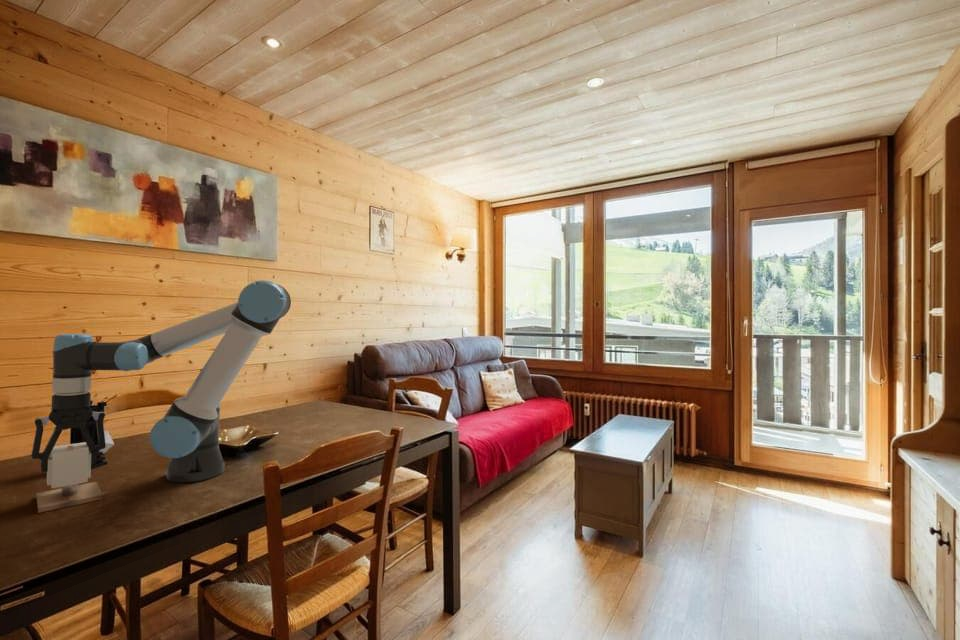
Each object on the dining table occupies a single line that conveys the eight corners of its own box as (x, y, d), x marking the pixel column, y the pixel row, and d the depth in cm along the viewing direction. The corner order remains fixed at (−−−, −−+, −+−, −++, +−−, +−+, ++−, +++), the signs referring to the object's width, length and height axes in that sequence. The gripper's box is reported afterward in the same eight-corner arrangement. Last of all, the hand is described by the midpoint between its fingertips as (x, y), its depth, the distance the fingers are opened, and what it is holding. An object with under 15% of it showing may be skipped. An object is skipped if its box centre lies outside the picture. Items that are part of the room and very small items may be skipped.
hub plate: (96, 485, 125) (96, 480, 125) (102, 499, 117) (102, 493, 117) (36, 497, 116) (36, 492, 116) (38, 512, 108) (38, 507, 108)
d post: (76, 490, 119) (77, 472, 118) (77, 494, 116) (78, 475, 116) (61, 493, 116) (61, 474, 116) (62, 497, 114) (62, 478, 114)
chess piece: (80, 472, 134) (81, 406, 134) (59, 469, 136) (61, 404, 136) (107, 464, 142) (108, 401, 142) (87, 461, 144) (88, 400, 143)
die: (120, 453, 155) (111, 428, 157) (110, 447, 147) (102, 420, 150) (89, 465, 150) (81, 439, 153) (78, 460, 143) (70, 432, 146)
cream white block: (84, 474, 121) (85, 440, 121) (87, 481, 117) (88, 446, 117) (49, 480, 116) (51, 444, 116) (51, 488, 112) (52, 451, 112)
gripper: (117, 387, 126) (115, 467, 126) (17, 394, 111) (14, 485, 112) (122, 391, 121) (119, 475, 121) (17, 399, 106) (14, 494, 107)
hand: (69, 479), depth 116 cm, fingers closed on cream white block, 7 cm apart
